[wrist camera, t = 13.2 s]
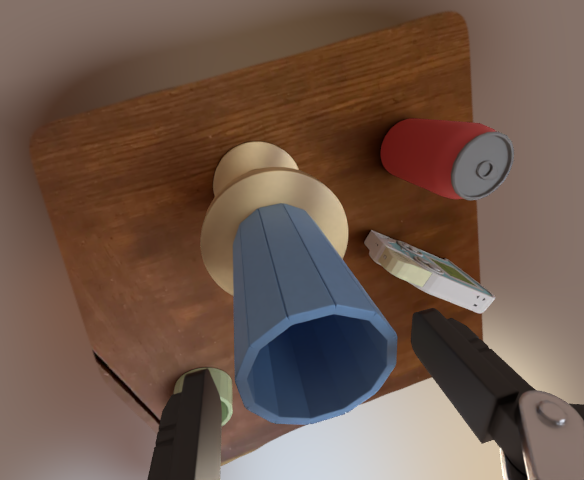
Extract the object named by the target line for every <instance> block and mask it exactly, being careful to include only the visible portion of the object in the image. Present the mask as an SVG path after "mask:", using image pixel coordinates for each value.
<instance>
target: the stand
mask: <svg viewBox="0 0 584 480" xmlns="http://www.w3.org/2000/svg"><path fill="white" fill-rule="evenodd" d="M213 192H214V196H215V198H214V199H213V201H212V202H211V204H210V206H209V208H208V210H207V212H206V215H205V218H204V221H203V226H202V231H201V239H200V246H201V254H202V258H203V262H204V264H205V266H206V269H207V271H208V272H209V274H210V275H211V277H212V278H213V279H214V281H215V282H216V283H217V284H218V285H219V286H220V287H221V288H222V289H223V290H225V291H226V292H228V293H229V294H231V295H232V296H234V292H233V242H234V239H235V236H236V233H237V230H238V227H239V225H240V223H241V222H242V221H244V220H245V219H246V218H247V217H248V216H249V215H251V214H252V213H253V212H254V211H255V210H256V209H259V208H261V207H265V206H270V205H275V204H280V203H282V204H283V203H284V204H288V205H291V206H294V207H297V208H300V209H303V210H305V211H306V212H307V213H308V214H309V215H310V217H311V218H312V219H313V220H314V221H315V223H316V224H317V225H318V226H319V228H320V229H321V230H322V232H323V233H324V235H325V236H326V237H327V239H328V240H329V241H330V243H331V244H332V246H333V247H334V248H335V250H336V251H337V252H338V254H339V255H340V257H341V258H342V259H343V257H344V254H345V251H346V248H347V242H348V223H347V218H346V215H345V212H344V209H343V207H342V205H341V203H340V202H339V200H338V199H337V197H336V196H335V195H334V194H333V192H332V191H331V190H330V189H329V188H327V187H326V186H325V185H324V184H323V183H322V182H320V181H319V180H318V179H316V178H315V177H313V176H312V175H310V174H307V173H305V172H303V171H300V170H299V169H298V167H297V165H296V163H295V162H294V160H293V159H292V157H291V156H290V155H289V154H288V153H287V152H285V151H284V150H283V149H281V148H280V147H278V146H276V145H274V144H271V143H268V142H262V141H252V142H246V143H243V144H240V145H238V146H236V147H234V148H233V149H231V150H230V151H229V152H227V153H226V154H225V155H224V156H223V158H222V159H221V160H220V162H219V164H218V166H217V168H216V171H215V174H214V179H213Z"/></svg>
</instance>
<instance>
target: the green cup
mask: <svg viewBox="0 0 584 480" xmlns="http://www.w3.org/2000/svg"><path fill="white" fill-rule="evenodd" d="M203 369H206V368H198V369H194V370H191V371H189V372H187V373H185V374H184V375H182V376H181V377H180V378H179V379H178V380H177V382H176V384H175V387H174V391H173V394H176V393H180V392H182V387H183V381H184V377H185V375H186V374H188V373H191V372H195V371H199V370H203ZM207 369H208V370H209V371H210V374H211V376H212V378H213V381H214V383H215V385H216V387H217V390H218V392H219V395H220V399H221V406H222V425H221V427H222V426H223V425H225V424H226V423H227V422H228V421H229V420H230V417H231V415H232V413H233V392H232V380H231V378H230V377H229V375H228V374H227V373H225V372H224V371H222V370H219V369H216V368H207Z"/></svg>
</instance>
